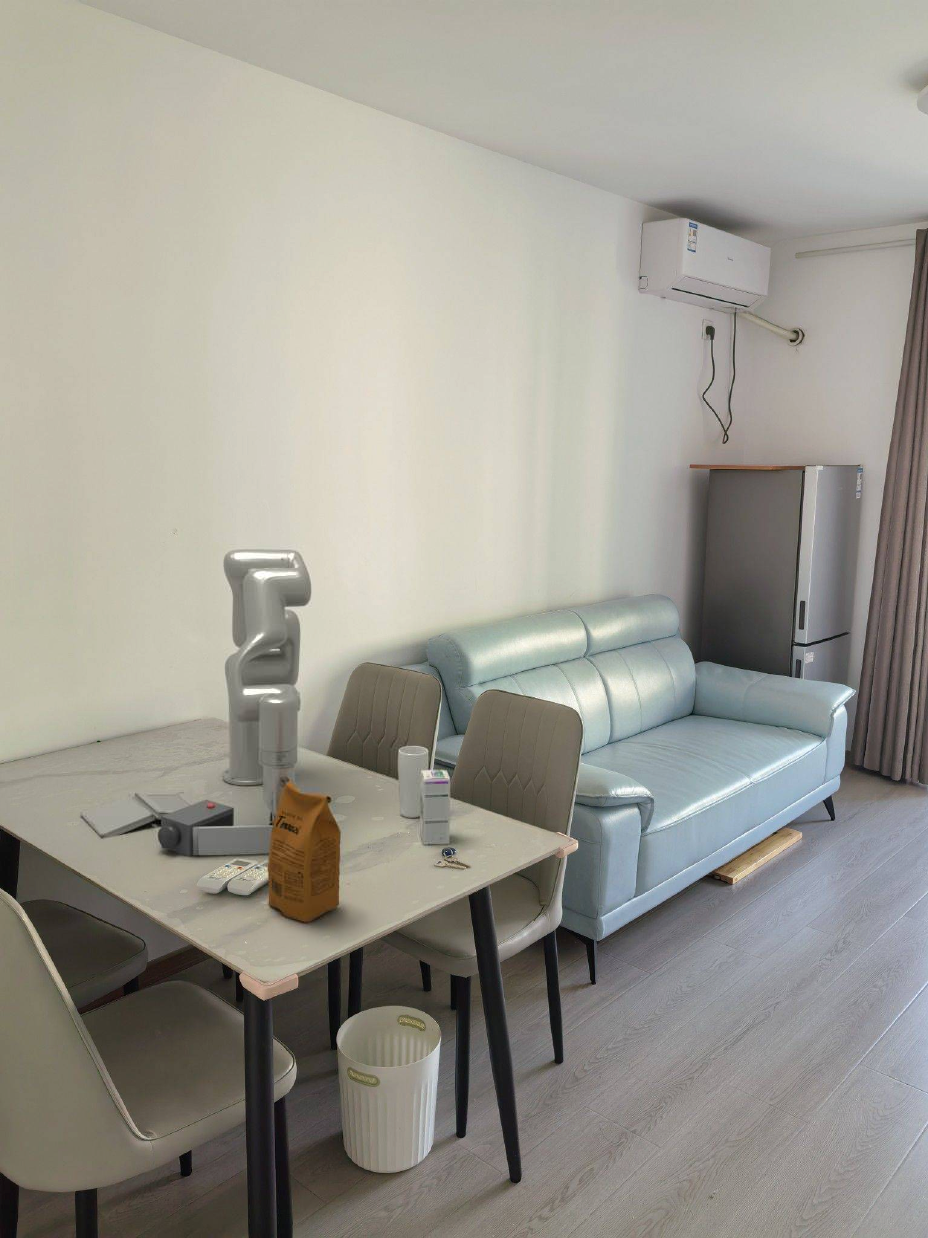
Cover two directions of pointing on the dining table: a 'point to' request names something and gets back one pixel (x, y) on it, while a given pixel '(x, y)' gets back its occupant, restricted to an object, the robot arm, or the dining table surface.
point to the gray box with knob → (192, 824)
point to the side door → (231, 839)
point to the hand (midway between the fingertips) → (277, 841)
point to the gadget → (133, 811)
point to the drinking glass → (411, 778)
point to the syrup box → (435, 807)
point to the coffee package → (304, 856)
